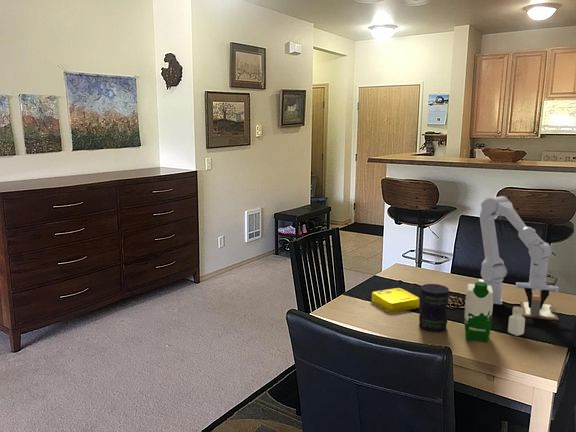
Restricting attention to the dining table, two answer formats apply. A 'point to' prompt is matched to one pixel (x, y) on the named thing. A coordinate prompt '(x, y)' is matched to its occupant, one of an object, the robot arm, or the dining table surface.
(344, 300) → the dining table surface
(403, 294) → the element tile
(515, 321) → the salt shaker
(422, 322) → the storage jar
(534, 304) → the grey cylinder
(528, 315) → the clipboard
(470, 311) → the milk carton
